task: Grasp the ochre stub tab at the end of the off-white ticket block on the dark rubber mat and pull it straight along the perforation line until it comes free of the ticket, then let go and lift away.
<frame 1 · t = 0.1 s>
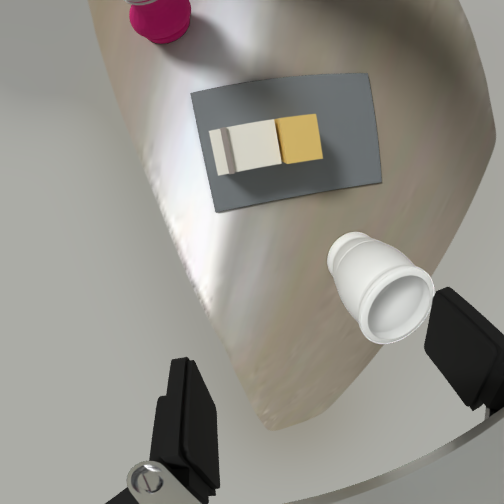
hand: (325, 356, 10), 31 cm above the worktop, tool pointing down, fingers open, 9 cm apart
ticket: (241, 144, 36), resting on mat
jar: (351, 256, 44), on the worktop
stub: (294, 137, 33), point 4 cm above the worktop, slide at 0.0 cm
pepper mill: (166, 24, 29), on the worktop
mat: (294, 135, 37), on the worktop
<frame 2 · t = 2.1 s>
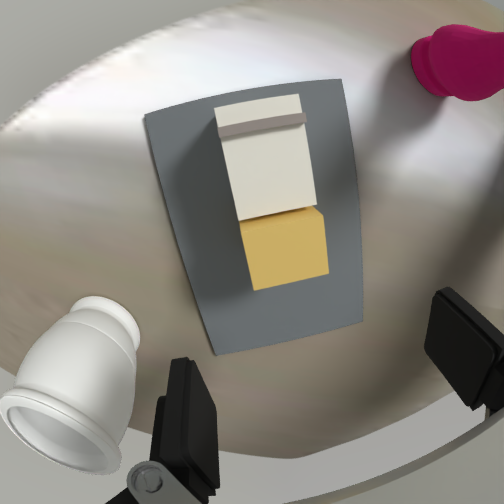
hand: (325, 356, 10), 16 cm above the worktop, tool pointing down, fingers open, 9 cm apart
ticket: (257, 150, 23), resting on mat
jar: (104, 327, 28), on the worktop
stub: (278, 234, 22), point 4 cm above the worktop, slide at 0.0 cm
pepper mill: (433, 67, 21), on the worktop
mat: (272, 231, 26), on the worktop
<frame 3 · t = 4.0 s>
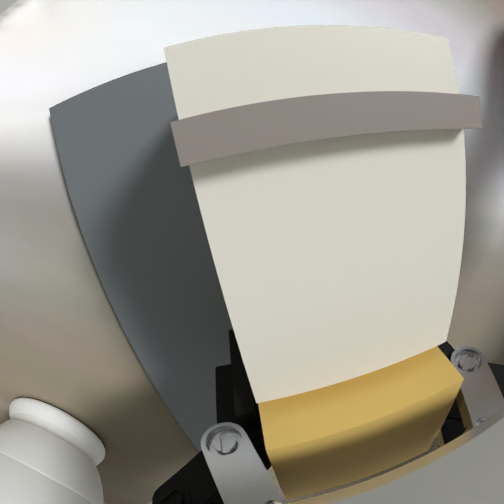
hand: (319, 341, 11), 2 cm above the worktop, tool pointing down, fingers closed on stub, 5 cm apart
ticket: (287, 178, 10), resting on mat
jar: (57, 429, 16), on the worktop
stub: (333, 372, 9), point 4 cm above the worktop, slide at 0.0 cm, touching gripper
mat: (307, 328, 13), on the worktop
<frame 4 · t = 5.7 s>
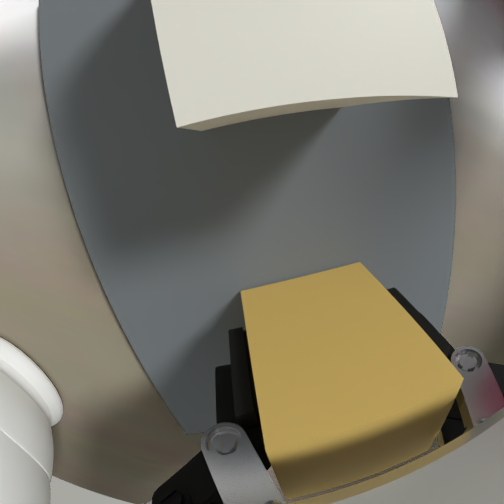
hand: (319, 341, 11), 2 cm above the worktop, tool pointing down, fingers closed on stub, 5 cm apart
ticket: (253, 25, 8), resting on mat
jar: (14, 377, 14), on the worktop
stub: (333, 372, 9), point 4 cm above the worktop, slide at 5.8 cm, touching gripper
mat: (289, 208, 11), on the worktop
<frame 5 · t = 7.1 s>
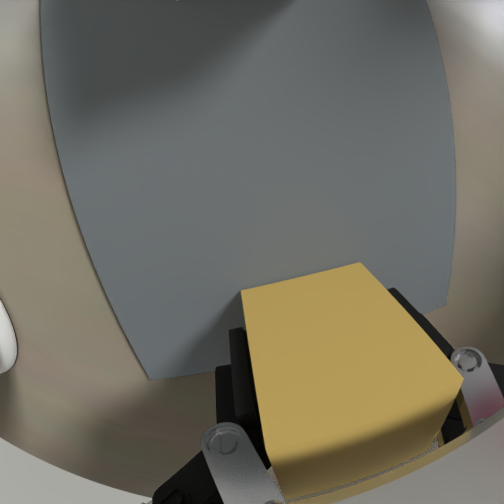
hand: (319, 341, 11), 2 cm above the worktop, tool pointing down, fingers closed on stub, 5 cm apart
stub: (333, 372, 9), point 4 cm above the worktop, slide at 11.0 cm, touching gripper
mat: (264, 71, 9), on the worktop
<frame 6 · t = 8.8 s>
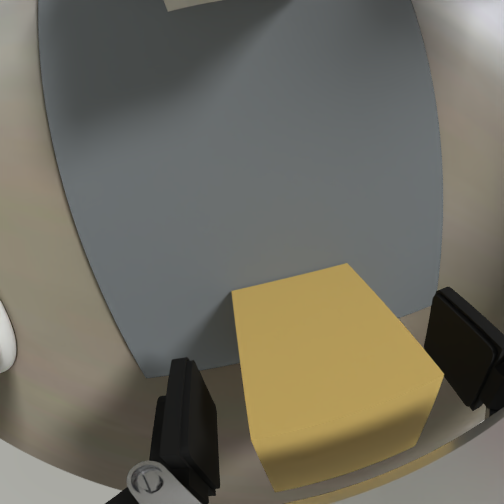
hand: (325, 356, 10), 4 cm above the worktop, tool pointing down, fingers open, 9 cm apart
stub: (320, 369, 10), point 4 cm above the worktop, slide at 11.0 cm
mat: (252, 79, 10), on the worktop
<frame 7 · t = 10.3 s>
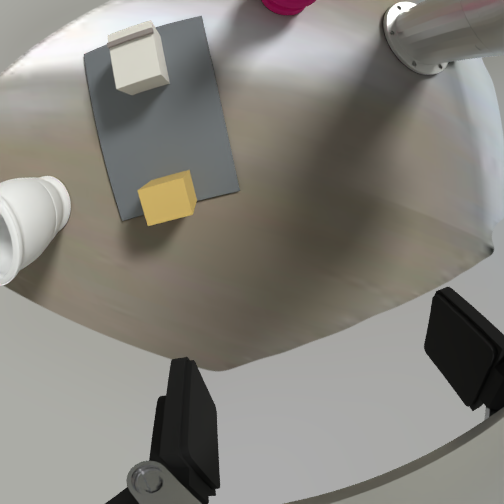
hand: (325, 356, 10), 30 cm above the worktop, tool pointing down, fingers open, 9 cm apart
ticket: (145, 64, 30), resting on mat
jar: (49, 204, 35), on the worktop
stub: (169, 195, 33), point 4 cm above the worktop, slide at 11.0 cm
mat: (156, 115, 33), on the worktop
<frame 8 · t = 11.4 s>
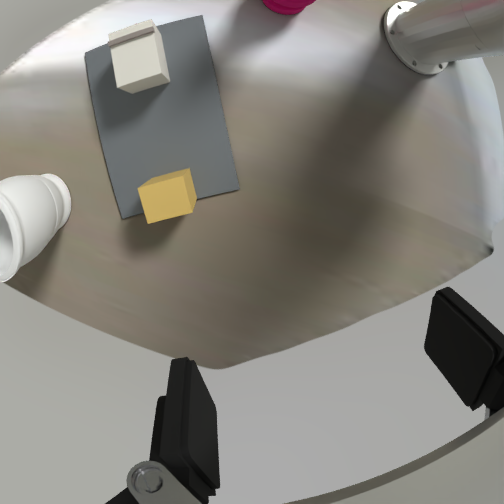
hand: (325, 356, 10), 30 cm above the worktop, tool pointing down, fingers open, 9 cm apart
ticket: (146, 63, 30), resting on mat
jar: (49, 201, 35), on the worktop
stub: (169, 193, 33), point 4 cm above the worktop, slide at 11.0 cm
mat: (157, 113, 33), on the worktop
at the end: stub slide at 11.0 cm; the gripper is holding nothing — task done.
